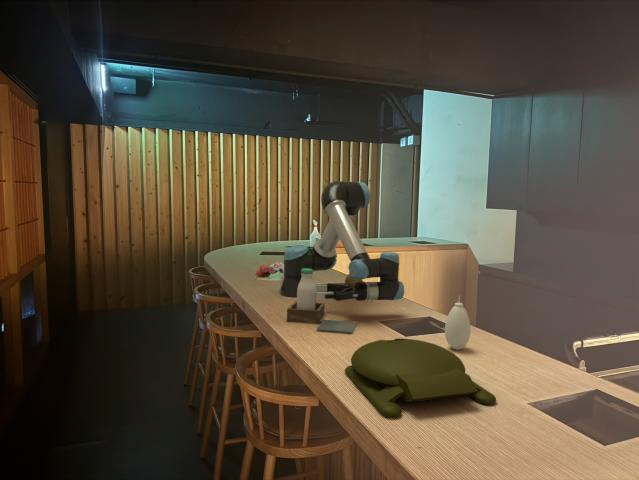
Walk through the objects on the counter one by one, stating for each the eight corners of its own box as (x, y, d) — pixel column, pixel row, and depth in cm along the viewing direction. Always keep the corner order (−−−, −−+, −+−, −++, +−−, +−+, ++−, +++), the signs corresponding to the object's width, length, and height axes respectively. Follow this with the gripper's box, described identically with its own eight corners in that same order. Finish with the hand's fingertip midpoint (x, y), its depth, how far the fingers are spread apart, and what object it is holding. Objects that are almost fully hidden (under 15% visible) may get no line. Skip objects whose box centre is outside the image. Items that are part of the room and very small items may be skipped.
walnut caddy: (294, 313, 191) (295, 301, 190) (324, 315, 188) (324, 303, 188) (286, 321, 179) (287, 308, 178) (318, 323, 176) (318, 311, 176)
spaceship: (500, 406, 112) (503, 367, 111) (385, 422, 103) (386, 380, 102) (427, 356, 145) (428, 326, 144) (335, 364, 137) (336, 332, 135)
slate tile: (323, 321, 180) (323, 319, 179) (356, 324, 177) (356, 322, 177) (316, 331, 167) (316, 329, 167) (352, 334, 164) (352, 332, 164)
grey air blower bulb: (439, 346, 153) (441, 293, 151) (458, 343, 156) (460, 292, 154) (454, 354, 146) (457, 299, 144) (474, 351, 149) (477, 297, 147)
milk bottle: (313, 321, 179) (314, 271, 177) (294, 320, 180) (295, 270, 178) (317, 316, 186) (318, 268, 184) (299, 315, 188) (299, 267, 186)
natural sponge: (362, 293, 231) (363, 273, 229) (345, 292, 231) (345, 273, 230) (361, 289, 240) (362, 270, 238) (344, 288, 240) (345, 269, 239)
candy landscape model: (255, 273, 280) (255, 258, 279) (293, 273, 283) (294, 258, 282) (254, 281, 255) (254, 265, 254) (296, 281, 258) (296, 265, 257)
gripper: (373, 308, 174) (318, 309, 170) (357, 293, 198) (309, 294, 195) (374, 288, 173) (318, 289, 169) (358, 276, 197) (309, 276, 194)
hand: (313, 292), depth 182 cm, fingers open, 13 cm apart
